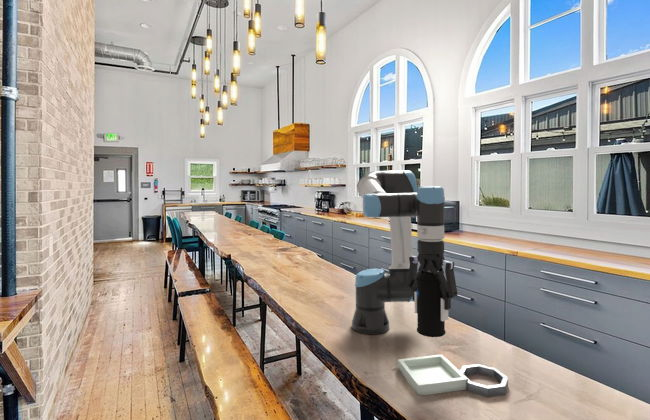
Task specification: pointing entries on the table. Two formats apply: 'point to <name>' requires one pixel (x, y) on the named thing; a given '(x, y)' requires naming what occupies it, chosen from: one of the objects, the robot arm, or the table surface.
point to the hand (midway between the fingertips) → (431, 315)
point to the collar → (483, 389)
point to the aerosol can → (429, 306)
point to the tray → (432, 374)
